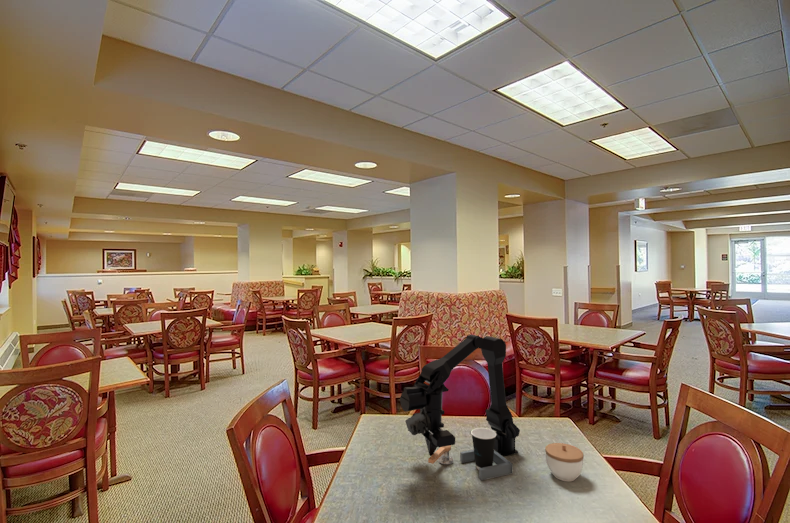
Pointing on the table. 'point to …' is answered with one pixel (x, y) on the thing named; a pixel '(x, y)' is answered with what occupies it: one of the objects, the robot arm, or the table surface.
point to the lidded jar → (564, 461)
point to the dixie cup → (483, 446)
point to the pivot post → (445, 459)
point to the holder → (491, 471)
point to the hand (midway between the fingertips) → (431, 455)
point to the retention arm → (438, 454)
